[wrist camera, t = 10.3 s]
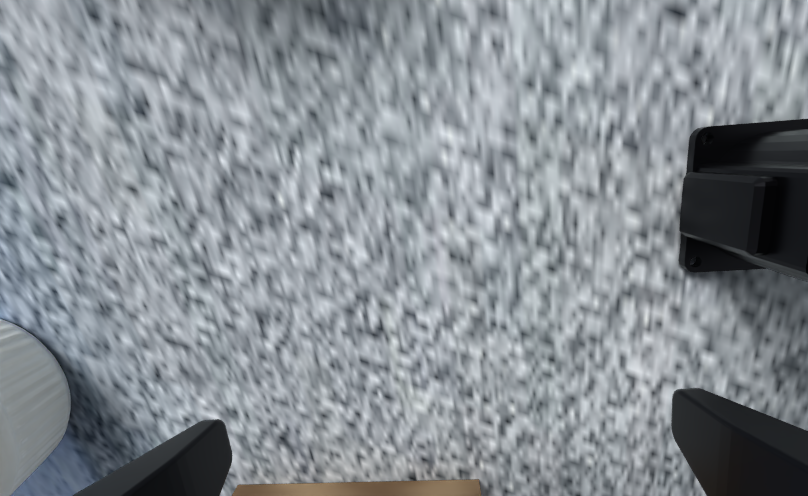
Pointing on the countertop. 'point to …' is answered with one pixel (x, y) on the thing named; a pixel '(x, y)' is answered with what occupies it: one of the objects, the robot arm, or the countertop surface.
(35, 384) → the ramekin
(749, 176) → the robot arm
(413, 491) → the socket block
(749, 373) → the countertop surface
